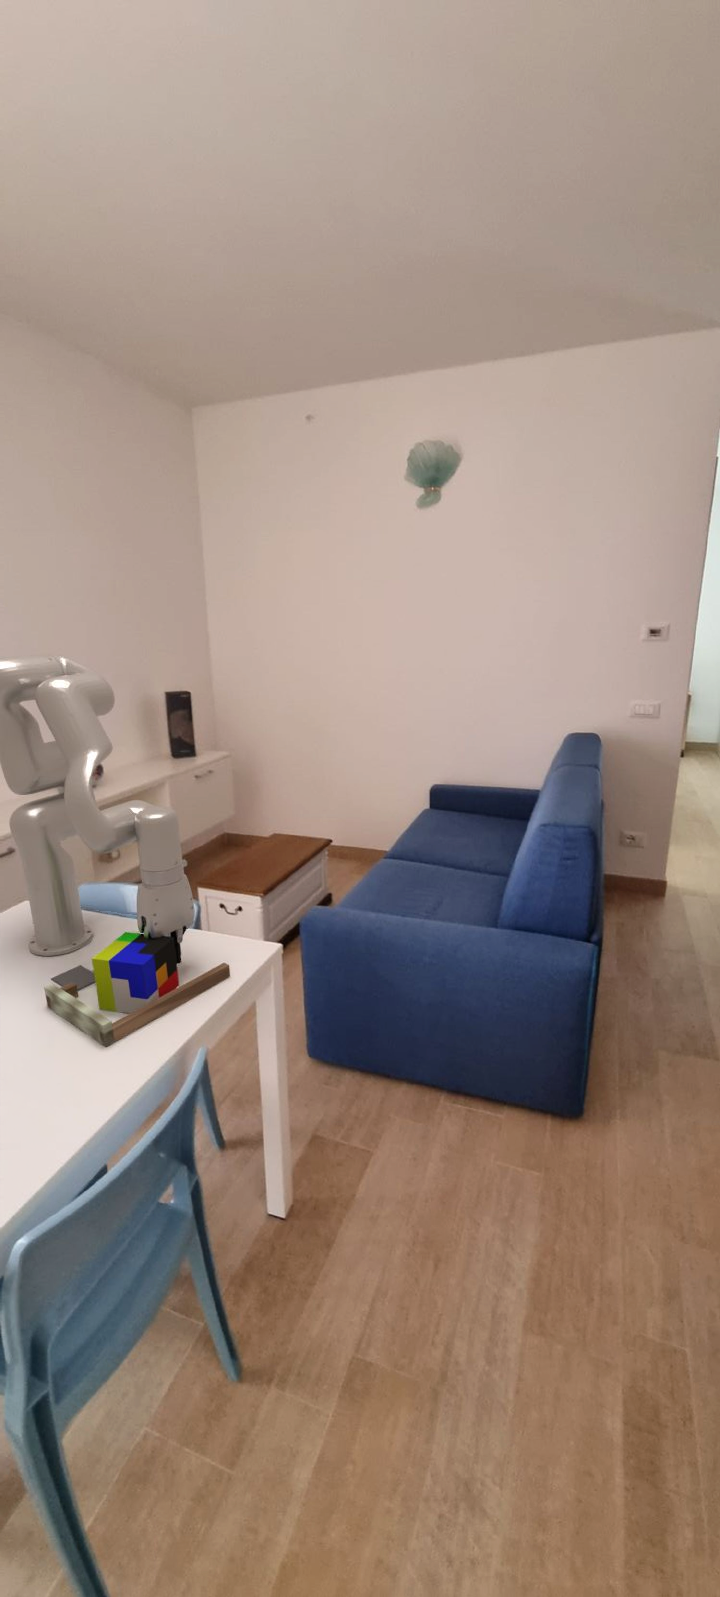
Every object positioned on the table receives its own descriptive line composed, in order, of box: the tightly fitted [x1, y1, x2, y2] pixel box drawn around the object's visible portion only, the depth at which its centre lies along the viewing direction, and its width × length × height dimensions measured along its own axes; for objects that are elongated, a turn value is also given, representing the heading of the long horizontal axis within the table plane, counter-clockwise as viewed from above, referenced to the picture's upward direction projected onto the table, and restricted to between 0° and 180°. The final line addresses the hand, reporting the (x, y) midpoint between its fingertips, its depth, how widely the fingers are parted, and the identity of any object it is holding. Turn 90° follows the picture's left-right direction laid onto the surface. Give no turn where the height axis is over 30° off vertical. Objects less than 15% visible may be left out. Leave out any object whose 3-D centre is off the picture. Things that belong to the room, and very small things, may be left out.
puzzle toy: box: [91, 931, 180, 1014], centre depth 116 cm, size 10×10×10 cm
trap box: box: [43, 962, 231, 1048], centre depth 119 cm, size 19×26×4 cm
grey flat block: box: [50, 964, 96, 991], centre depth 124 cm, size 8×6×1 cm
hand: (173, 962), depth 124 cm, fingers closed
